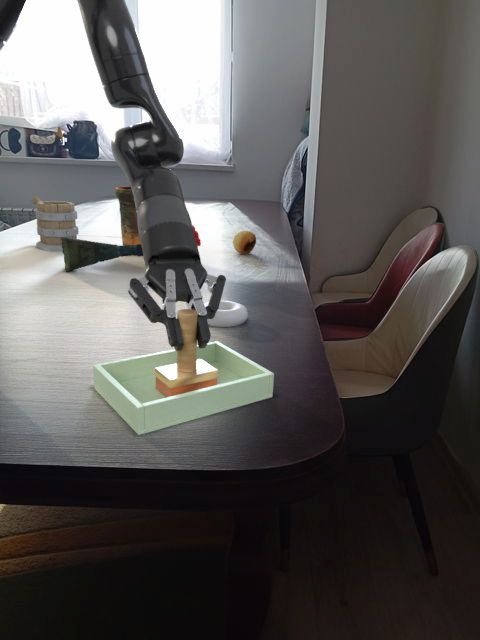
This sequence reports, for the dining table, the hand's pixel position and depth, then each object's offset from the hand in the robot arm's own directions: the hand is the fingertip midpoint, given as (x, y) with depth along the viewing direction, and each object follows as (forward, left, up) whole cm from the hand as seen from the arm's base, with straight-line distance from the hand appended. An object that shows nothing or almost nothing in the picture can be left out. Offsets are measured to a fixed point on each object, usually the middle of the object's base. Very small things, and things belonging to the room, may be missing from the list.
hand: (191, 346), depth 66 cm
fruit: (+67, +85, -8) cm, 109 cm away
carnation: (+24, +75, -8) cm, 79 cm away
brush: (0, +2, -7) cm, 7 cm away
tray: (0, +2, -8) cm, 8 cm away
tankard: (+16, +120, -8) cm, 122 cm away
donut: (+22, +27, -8) cm, 36 cm away
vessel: (+37, +99, -8) cm, 106 cm away
